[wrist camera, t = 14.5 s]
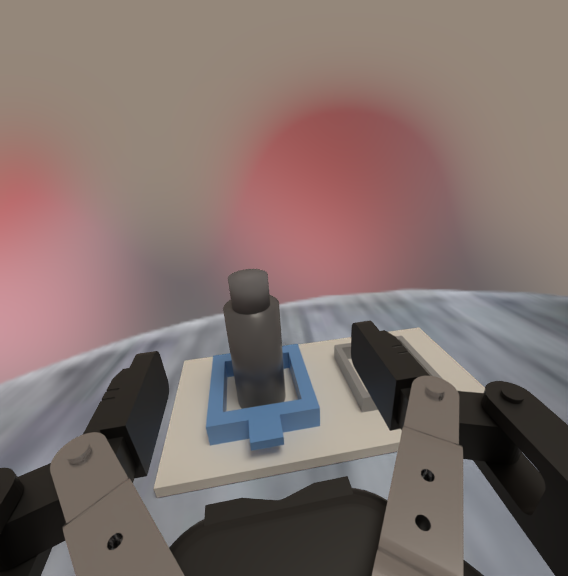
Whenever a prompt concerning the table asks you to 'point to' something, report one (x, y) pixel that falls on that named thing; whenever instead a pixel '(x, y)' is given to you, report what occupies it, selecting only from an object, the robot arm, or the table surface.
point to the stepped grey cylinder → (254, 339)
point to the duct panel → (284, 416)
